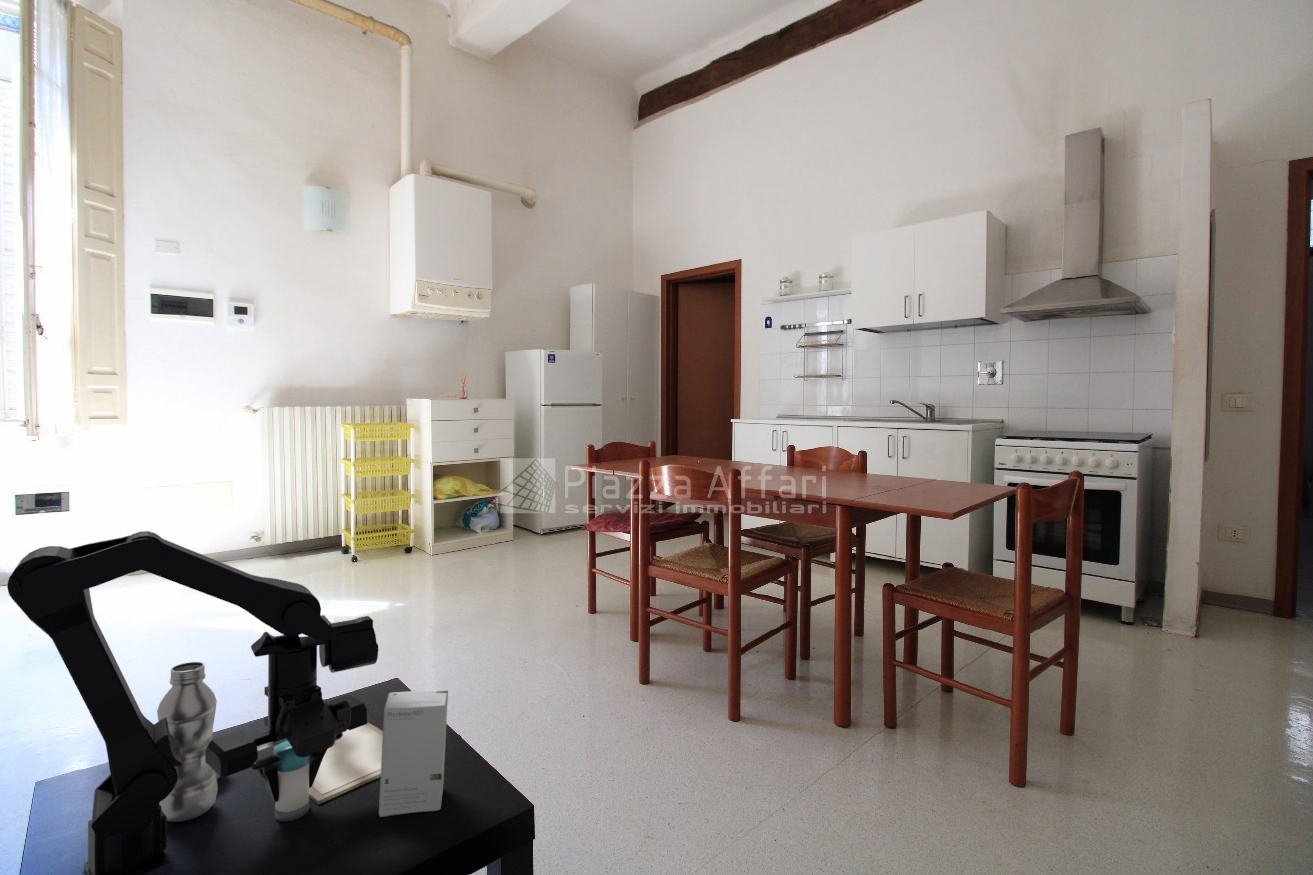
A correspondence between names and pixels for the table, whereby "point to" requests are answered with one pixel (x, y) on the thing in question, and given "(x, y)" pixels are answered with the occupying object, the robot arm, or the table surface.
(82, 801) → the table surface
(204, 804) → the plastic bottle
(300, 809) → the cylinder
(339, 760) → the picture frame
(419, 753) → the skincare box
